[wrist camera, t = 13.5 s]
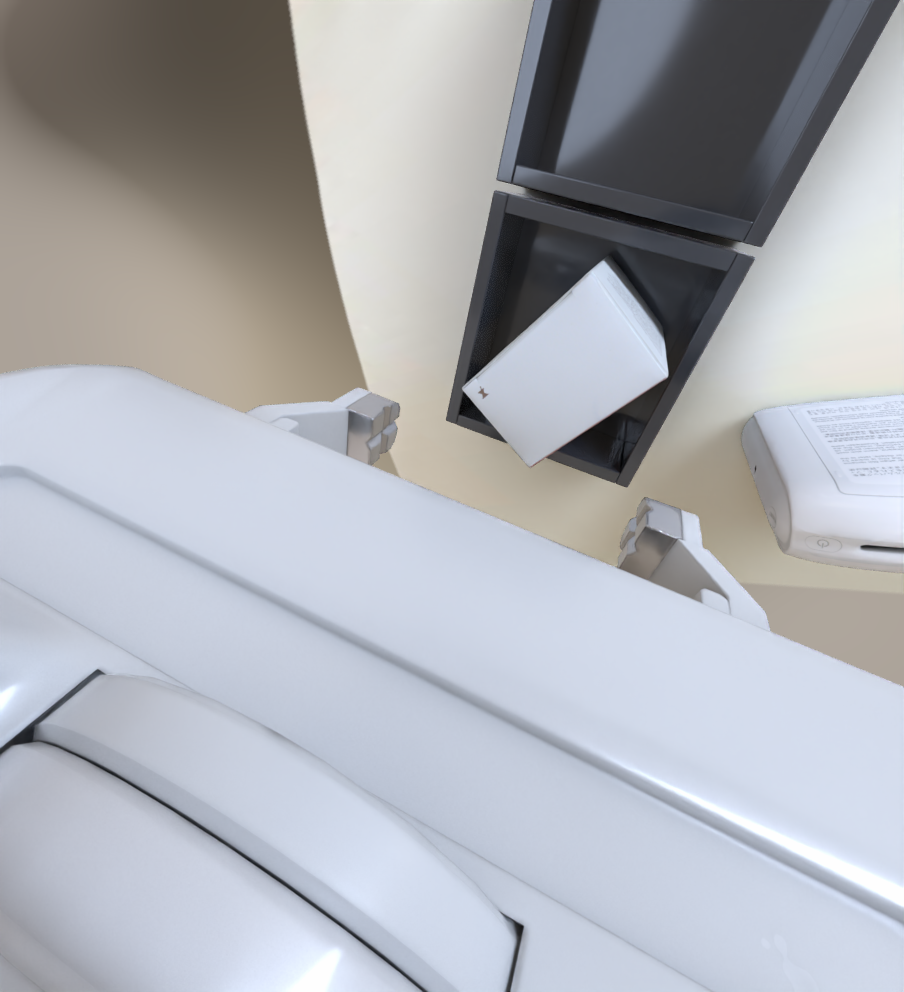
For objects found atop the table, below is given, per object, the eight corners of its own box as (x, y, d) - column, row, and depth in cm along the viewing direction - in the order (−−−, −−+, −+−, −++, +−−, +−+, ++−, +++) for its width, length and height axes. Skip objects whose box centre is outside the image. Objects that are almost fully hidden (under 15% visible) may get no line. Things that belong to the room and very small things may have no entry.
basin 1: (960, -173, 15) (1081, -325, 11) (741, 240, 23) (762, 247, 19) (615, -200, 18) (603, -335, 13) (522, 185, 26) (495, 179, 21)
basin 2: (737, 249, 24) (756, 257, 19) (630, 450, 31) (627, 488, 27) (520, 193, 26) (493, 189, 21) (471, 393, 34) (445, 420, 29)
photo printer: (736, 465, 29) (778, 589, 20) (740, 405, 27) (788, 510, 18) (948, 454, 25) (1136, 608, 15) (971, 381, 23) (1202, 505, 13)
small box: (560, 403, 31) (526, 472, 23) (510, 342, 30) (456, 391, 22) (666, 327, 26) (673, 379, 18) (611, 250, 25) (591, 269, 17)
